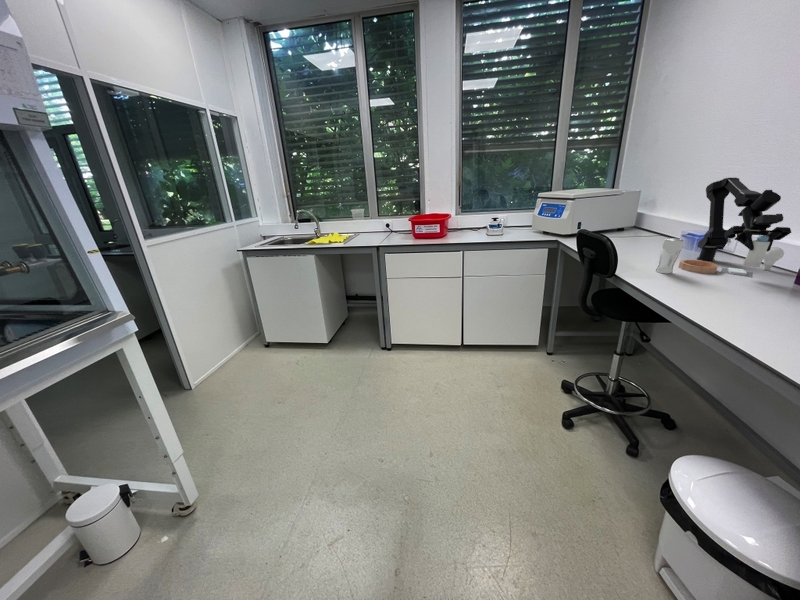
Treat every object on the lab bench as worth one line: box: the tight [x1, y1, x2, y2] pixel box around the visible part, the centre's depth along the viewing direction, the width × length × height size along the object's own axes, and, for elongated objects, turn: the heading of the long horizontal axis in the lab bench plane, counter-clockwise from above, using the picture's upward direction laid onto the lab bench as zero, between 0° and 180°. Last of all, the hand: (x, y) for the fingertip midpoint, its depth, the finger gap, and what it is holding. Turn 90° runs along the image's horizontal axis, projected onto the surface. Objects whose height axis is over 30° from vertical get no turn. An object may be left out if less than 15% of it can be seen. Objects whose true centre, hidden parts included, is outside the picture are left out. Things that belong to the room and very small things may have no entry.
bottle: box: [743, 235, 770, 268], centre depth 131 cm, size 5×5×12 cm
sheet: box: [727, 267, 747, 276], centre depth 142 cm, size 7×5×1 cm
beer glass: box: [655, 237, 684, 275], centre depth 143 cm, size 7×7×15 cm
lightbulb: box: [761, 246, 785, 272], centre depth 143 cm, size 6×6×11 cm
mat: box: [720, 267, 754, 278], centre depth 142 cm, size 10×10×1 cm
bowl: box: [678, 259, 719, 274], centre depth 148 cm, size 13×13×3 cm
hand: (760, 250), depth 129 cm, fingers closed on bottle, 5 cm apart
